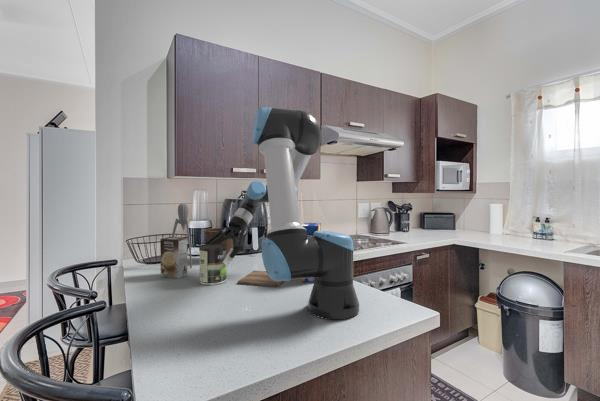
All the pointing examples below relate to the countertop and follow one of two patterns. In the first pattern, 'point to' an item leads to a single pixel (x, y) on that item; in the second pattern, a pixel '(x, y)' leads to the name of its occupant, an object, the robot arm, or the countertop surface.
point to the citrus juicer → (183, 223)
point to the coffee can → (212, 264)
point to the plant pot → (228, 242)
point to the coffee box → (173, 257)
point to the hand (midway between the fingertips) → (213, 261)
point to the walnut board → (259, 279)
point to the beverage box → (310, 231)
